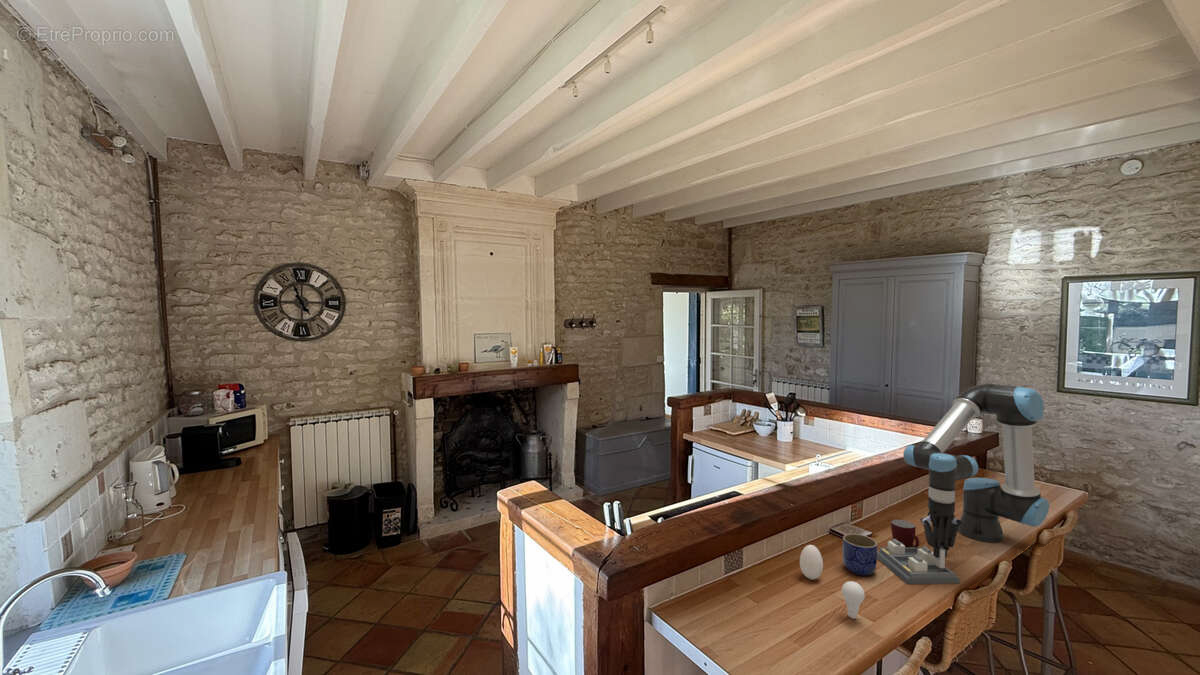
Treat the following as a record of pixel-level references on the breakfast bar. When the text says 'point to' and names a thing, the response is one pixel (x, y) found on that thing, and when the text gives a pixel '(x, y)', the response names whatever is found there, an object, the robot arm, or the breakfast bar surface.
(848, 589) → the lightbulb
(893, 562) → the switch bank
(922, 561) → the white and grey block
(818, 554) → the egg
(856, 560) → the planter
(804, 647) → the breakfast bar surface
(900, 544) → the tab
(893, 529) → the mug
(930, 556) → the tab
